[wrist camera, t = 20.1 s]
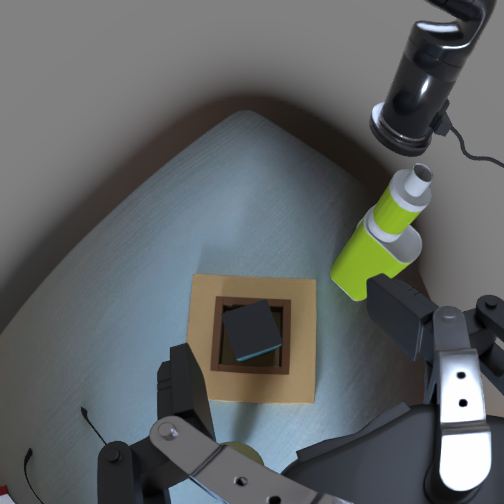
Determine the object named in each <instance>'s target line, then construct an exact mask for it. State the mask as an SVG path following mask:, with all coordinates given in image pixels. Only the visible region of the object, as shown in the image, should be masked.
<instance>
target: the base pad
mask: <svg viewBox="0 0 504 504" xmlns="http://www.w3.org/2000/svg"><path fill="white" fill-rule="evenodd" d="M264 299H267V301H268V304H269V307H270V309H271V312H272V315H273V317H274V320H275V323H276V325H277V328H278V331H279V334H280V336H281V339H282V342H283V344H282V345H281V346H280V347H279V348H277V349H276V350H275V351H273V352H270V353H267V354H264V355H261V356H259V357H256V358H253V359H250V360H247V361H244V362H239V361H238V360H237V359H236V358H235V355H234V352H233V349H232V346H231V343H230V340H229V337H228V334H227V331H226V328H225V325H224V322H223V319H222V316H221V314H222V313H225V312H228V311H231V310H234V309H237V308H240V307H243V306H246V305H249V304H252V303H255V302H258V301H261V300H264ZM187 343H188V344H189V346H190V348H191V350H192V352H193V354H194V356H195V358H196V360H197V362H198V364H199V366H200V368H201V370H202V373H203V376H204V379H205V384H206V390H207V396H208V400H219V401H231V402H248V403H277V404H307V403H314V401H315V375H316V279H293V278H269V277H247V276H227V275H208V274H193V283H192V292H191V301H190V311H189V321H188V332H187Z"/></svg>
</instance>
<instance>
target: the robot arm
mask: <svg viewBox="0 0 504 504" xmlns="http://www.w3.org/2000/svg"><path fill="white" fill-rule="evenodd" d="M424 1H425V2H427V3H429V4H430V5H432V6H434V7H436V8H438V9H440V10H442V11H444V12H447V13H448V14H450V15H452V16H454V17H456V18H457V19H456V20H455V21H452V22H444V23H443V22H442V23H440V22H431V21H417V22H415V23H414V24H413V26H412V28H411V31H410V34H409V37H408V40H407V43H406V46H405V49H404V51H403V54H402V57H401V60H400V63H399V65H398V68H397V71H396V73H395V76H394V78H393V81H392V84H391V87H390V89H389V92H388V94H387V97H386V99H385V101H384V104H383V106H382V108H381V110H380V113H379V118H380V121H381V123H382V124H383V126H384V127H385V128H386V129H387V130H388V131H389V132H390V133H391V134H393V135H394V136H396V137H397V138H399V139H401V140H404V141H406V142H410V143H419V142H422V141H423V140H429V138H430V137H431V135H432V133H433V132H434V133H435V134H438V135H442V136H446V134H447V133H448V131H449V130H452V131H453V132H454V133H455V135H456V136H457V137H458V139H459V141H460V145H461V150H462V152H463V154H464V155H465V156H466V157H468V158H469V159H472V160H486V161H491V162H494V163H496V164H498V165H499V166H501V167H503V168H504V164H503V163H501V162H499V161H498V160H496V159H494V158H491V157H477V156H472V155H470V154H469V153H467V152H466V150H465V146H464V141H463V139H462V137H461V135H460V134H459V133H458V131H457V130H456V129H455V128H454V127H453V126H452V123H451V121H450V119H449V117H448V115H447V113H446V110H447V108H448V106H449V104H450V103H449V100H448V96H449V94H450V92H451V90H452V88H453V86H454V84H455V82H456V80H457V78H458V77H459V74H460V72H461V71H462V69H463V66H464V65H465V63H466V61H467V59H468V58H469V56H470V55H471V54H472V52H473V50H474V48H475V46H476V44H477V42H478V40H479V38H480V36H481V35H482V33H483V31H484V29H485V27H486V25H487V23H488V22H489V20H490V18H491V16H492V14H493V11H494V9H495V6H496V3H497V0H424ZM366 288H367V309H368V312H369V315H370V317H371V318H372V320H373V321H374V322H375V323H376V324H377V325H378V326H379V327H380V328H381V329H382V330H383V331H384V332H385V333H386V334H387V335H388V336H389V337H390V338H391V339H392V340H393V341H394V342H395V343H396V344H397V345H398V346H399V347H400V348H401V349H402V350H403V351H404V352H405V353H406V354H407V355H408V356H409V357H410V358H411V359H412V360H413V361H414V362H415V361H417V360H418V359H420V358H422V357H424V358H425V359H426V360H425V387H424V403H423V404H418V405H413V406H408V405H407V404H406V402H405V401H402V402H400V403H399V404H397V405H395V406H393V407H392V408H390V409H388V410H386V411H384V412H383V413H381V414H379V415H378V416H377V417H376V418H375V419H374V420H372V421H371V422H370V423H369V424H368V425H366V426H365V427H364V428H363V429H361V430H360V431H359V432H357V433H355V434H351V435H347V436H342V437H338V438H333V439H328V440H324V441H322V442H319V443H317V444H314V445H312V446H309V447H307V448H304V449H301V450H299V451H296V453H297V456H298V459H297V460H295V461H294V462H292V463H291V464H290V465H289V466H287V467H286V468H285V469H284V470H283V471H282V472H281V474H279V473H277V472H275V471H273V470H271V469H269V468H267V467H265V466H264V465H262V464H260V463H258V462H256V461H255V460H253V459H251V458H249V457H248V456H246V455H244V454H242V453H241V452H239V451H237V450H236V449H234V448H232V447H231V446H229V445H226V444H223V445H220V444H218V443H217V442H216V437H215V432H214V427H213V422H212V417H211V412H210V407H209V401H208V396H207V390H206V384H205V379H204V376H203V373H202V370H201V368H200V366H199V364H198V362H197V360H196V358H195V356H194V354H193V352H192V350H191V348H190V346H189V344H188V343H184V344H181V345H177V346H174V347H170V360H169V361H166V362H162V364H161V366H160V368H159V370H158V372H157V382H158V384H157V390H158V391H157V415H158V420H157V421H156V422H155V423H154V424H153V426H152V427H151V429H150V433H149V436H148V437H146V438H145V439H143V440H141V441H139V442H137V443H134V444H132V445H130V446H128V445H127V444H126V443H124V442H122V441H113V442H110V443H108V444H106V445H105V446H104V447H103V448H102V449H101V451H100V452H99V455H98V470H97V495H98V504H171V500H170V495H169V489H168V488H170V487H172V486H174V485H176V484H178V483H180V482H182V481H184V480H186V479H188V478H189V479H190V480H191V481H192V482H194V483H195V484H196V485H197V486H199V487H200V488H201V489H203V490H204V491H205V492H207V493H208V494H209V495H211V496H212V497H213V498H215V499H216V500H218V501H219V502H220V503H222V504H504V417H498V416H491V415H486V414H485V403H484V393H483V385H482V377H481V372H482V373H483V374H484V375H485V376H486V377H487V378H488V379H489V380H490V382H491V383H492V384H493V385H494V386H495V387H496V388H497V389H498V390H499V391H500V392H501V393H502V394H503V395H504V350H503V349H501V348H500V347H499V346H498V345H497V344H496V343H495V340H496V337H498V338H499V339H501V340H502V341H503V342H504V301H503V300H502V299H500V298H498V297H497V296H494V295H484V296H482V297H480V298H479V299H478V300H477V304H476V308H475V309H471V310H468V311H464V312H462V311H461V310H459V309H457V308H455V307H451V306H444V307H441V308H440V307H439V306H437V305H436V304H435V303H433V302H432V301H431V300H429V299H428V298H427V297H425V296H424V295H423V294H421V293H419V292H418V291H417V290H416V289H413V287H412V286H410V285H409V284H407V283H406V282H403V281H400V280H397V279H394V280H392V279H391V278H390V277H388V276H387V275H386V274H384V273H380V274H378V275H376V276H373V277H371V278H368V279H367V281H366Z"/></svg>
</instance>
